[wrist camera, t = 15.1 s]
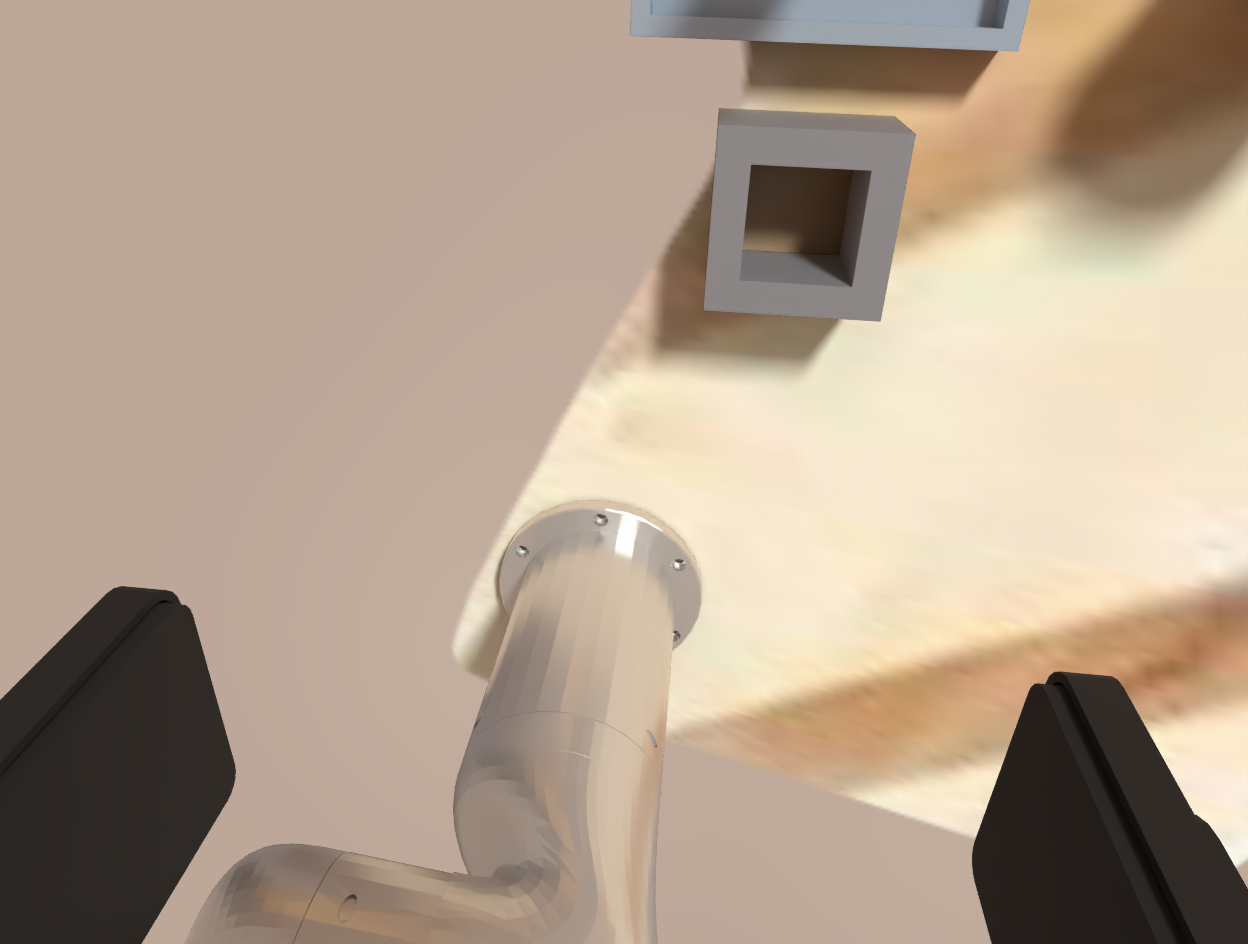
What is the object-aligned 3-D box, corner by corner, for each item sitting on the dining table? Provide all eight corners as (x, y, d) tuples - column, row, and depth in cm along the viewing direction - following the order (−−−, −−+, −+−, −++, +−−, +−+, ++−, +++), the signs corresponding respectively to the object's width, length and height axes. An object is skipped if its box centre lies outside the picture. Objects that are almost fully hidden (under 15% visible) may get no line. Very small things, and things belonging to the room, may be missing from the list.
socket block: (865, 286, 43) (880, 321, 39) (705, 277, 44) (703, 310, 40) (895, 116, 39) (915, 134, 35) (719, 108, 40) (718, 124, 36)
